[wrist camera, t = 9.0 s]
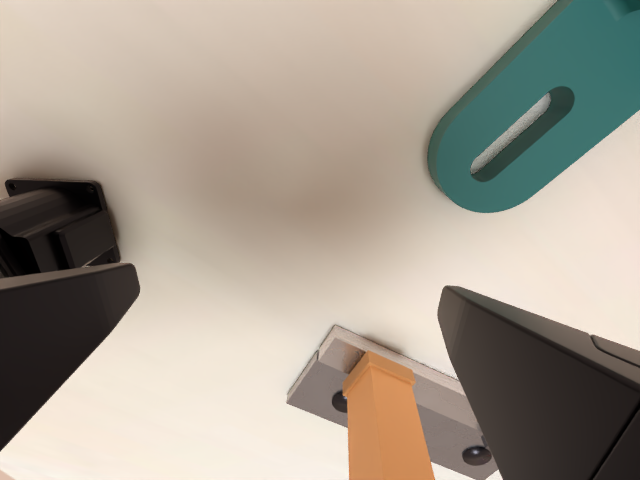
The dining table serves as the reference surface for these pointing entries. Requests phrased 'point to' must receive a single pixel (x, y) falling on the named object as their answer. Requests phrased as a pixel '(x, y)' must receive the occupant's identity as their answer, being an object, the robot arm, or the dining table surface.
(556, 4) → the bracket
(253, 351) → the dining table surface
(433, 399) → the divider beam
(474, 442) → the bolt plate
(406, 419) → the block
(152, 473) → the dining table surface
